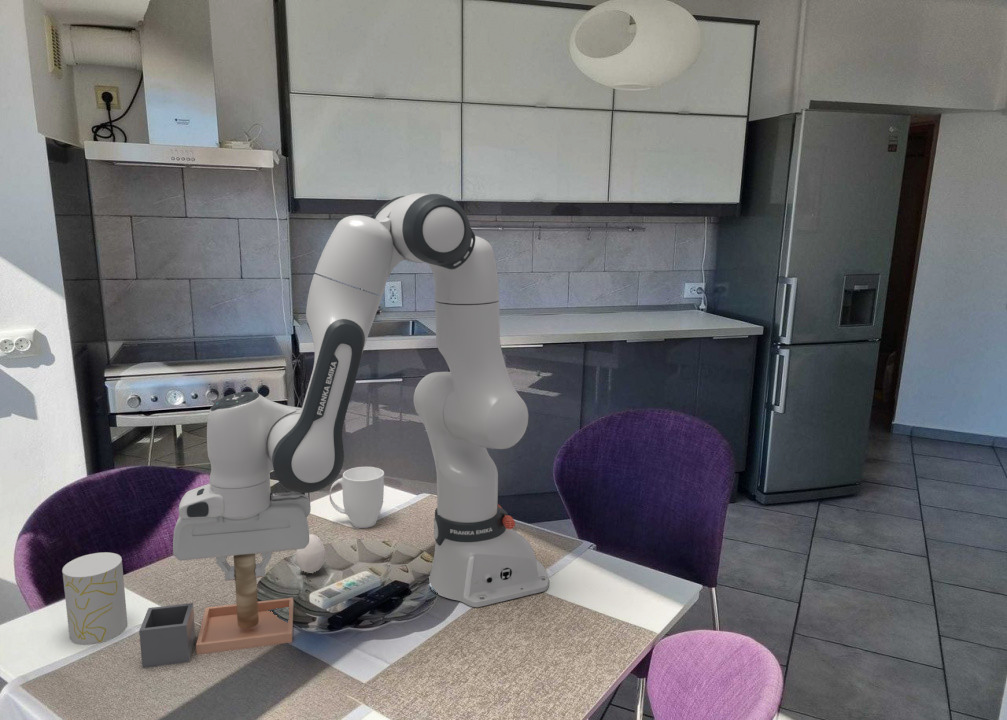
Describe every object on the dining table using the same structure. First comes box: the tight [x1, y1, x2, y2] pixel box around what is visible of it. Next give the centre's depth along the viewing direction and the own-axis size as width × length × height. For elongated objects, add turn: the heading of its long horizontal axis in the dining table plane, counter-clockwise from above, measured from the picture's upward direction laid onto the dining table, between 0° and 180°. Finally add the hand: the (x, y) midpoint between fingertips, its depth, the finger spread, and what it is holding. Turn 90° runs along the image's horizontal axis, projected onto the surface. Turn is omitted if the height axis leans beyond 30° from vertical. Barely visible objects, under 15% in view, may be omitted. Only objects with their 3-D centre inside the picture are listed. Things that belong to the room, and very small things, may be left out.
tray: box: [195, 597, 294, 655], centre depth 116 cm, size 14×11×2 cm
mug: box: [329, 466, 385, 529], centre depth 156 cm, size 12×9×12 cm
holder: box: [138, 602, 197, 669], centre depth 109 cm, size 6×6×7 cm
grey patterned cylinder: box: [61, 551, 129, 646], centre depth 113 cm, size 8×8×12 cm
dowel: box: [233, 553, 259, 628], centre depth 114 cm, size 3×3×12 cm
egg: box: [295, 533, 326, 573], centre depth 135 cm, size 5×5×8 cm
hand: (245, 577), depth 114 cm, fingers closed on dowel, 3 cm apart
